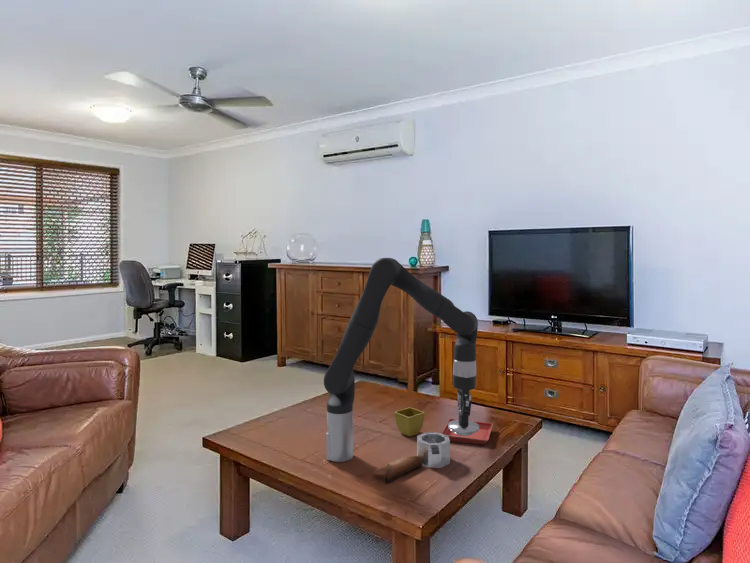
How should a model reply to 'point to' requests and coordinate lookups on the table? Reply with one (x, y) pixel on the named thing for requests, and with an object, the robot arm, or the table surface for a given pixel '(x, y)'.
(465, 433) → the lid
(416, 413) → the flower pot
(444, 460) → the pot
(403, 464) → the sunglasses case
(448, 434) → the plant saucer
